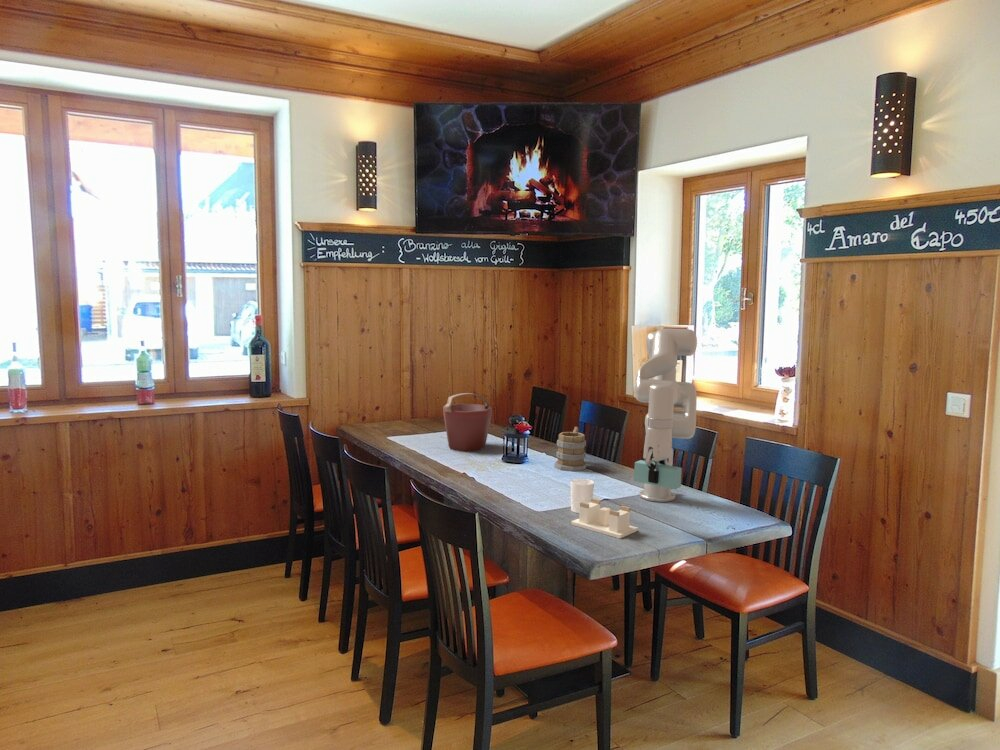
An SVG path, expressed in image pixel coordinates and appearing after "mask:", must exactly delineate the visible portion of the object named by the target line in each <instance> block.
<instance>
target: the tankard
mask: <svg viewBox="0 0 1000 750" xmlns="http://www.w3.org/2000/svg"><path fill="white" fill-rule="evenodd" d="M585 435H586V434H584V433H581V432H579V427H578V426H574V429H573V430H572V431H563V432H560V433H559V434H558V439H557V440H556V446H557V450H556V452H555V454H556V456H555V457H556V458H557V460H556V461H555V462H554V468H556V469H557V470H561V471H568V472H579V471H584V470H585V469H587V467H588V464H587V463H586V462H585V461H584V460H585V458H586V454H587V453H586V451H585V447H586V445H587V440H585V439H586V438H585V437H586V436H585Z"/></svg>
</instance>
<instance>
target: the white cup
mask: <svg viewBox="0 0 1000 750" xmlns="http://www.w3.org/2000/svg"><path fill="white" fill-rule="evenodd" d="M569 487H570V511H571V512H573V513H575V514H579V513H580V502H583V503H587V504H588V503H590V502H591V499H592V498H594V490H595V489H594V488H595V481H594V480H591V479H587V478H574V479H571V480H570V486H569Z"/></svg>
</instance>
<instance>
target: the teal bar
mask: <svg viewBox="0 0 1000 750" xmlns="http://www.w3.org/2000/svg"><path fill="white" fill-rule="evenodd" d="M652 463H653V464H654V465H655V463H654V462H652ZM633 470H634V472H633V481H634V482H638V483H642V484H644V483H647V484H651V485H656V486H661V487H666V488H671V490H677V489H679V488H681V486H682V472H683V468H682V467H679V466H676V465H672V466H670V465H664V464H658V470H657V471H659V475H658V483H657V484H655V483H651V482H648V473H649V470H648V466H647V464H646V463H645V460H642V459H640V460H637V461H635V462H634V468H633Z"/></svg>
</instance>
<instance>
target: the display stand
mask: <svg viewBox="0 0 1000 750" xmlns="http://www.w3.org/2000/svg"><path fill="white" fill-rule="evenodd" d="M578 514H579V515H578V516H579V518H576V519H573V520H571V521H570V525H572V526H575V527H579V528H582V529H585V530H589V531H592V532H596V533H599V534H602V535H603V534H604V535H605V536H610V537H614V538H617V539H622V538H624V537H626V536H629V535H631V534H633V533H636V532H638V528H639V527H638V526H637V527H636V526H633V525H631V523H630V522H631V507H630V506H626V505H620V509H619V510H614V509H611V508H609V507H605V506H604V507H601V499H597V498H595V497H593V498H592V499H591V502H590V503H588V504H587V503H583V502H580V513H578Z"/></svg>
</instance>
